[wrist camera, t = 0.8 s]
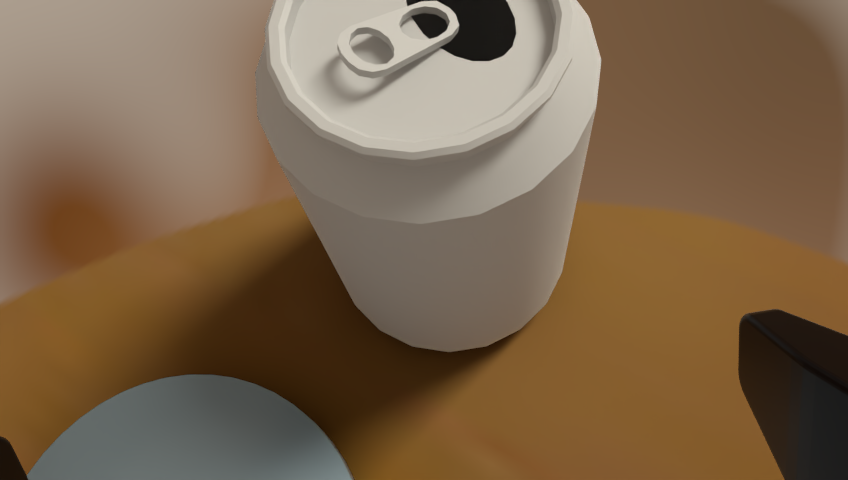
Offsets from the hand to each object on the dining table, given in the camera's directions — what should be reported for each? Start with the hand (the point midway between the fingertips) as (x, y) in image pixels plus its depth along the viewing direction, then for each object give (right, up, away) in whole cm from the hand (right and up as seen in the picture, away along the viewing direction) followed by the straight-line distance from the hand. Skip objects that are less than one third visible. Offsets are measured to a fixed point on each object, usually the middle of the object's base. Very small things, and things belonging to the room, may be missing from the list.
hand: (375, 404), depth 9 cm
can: (+2, +2, +17) cm, 17 cm away
